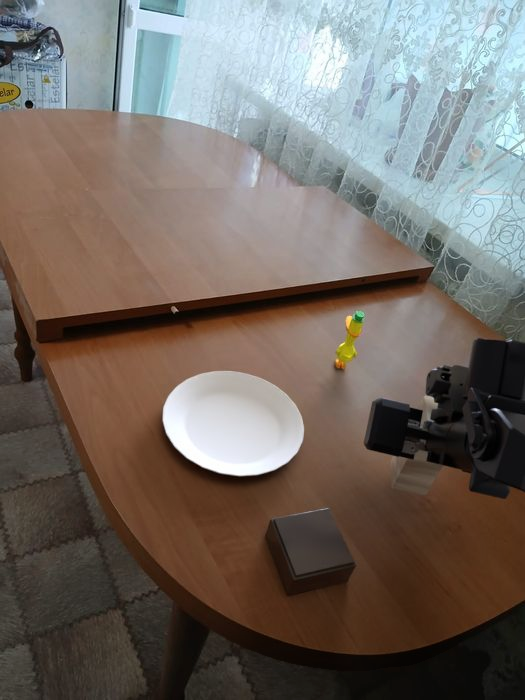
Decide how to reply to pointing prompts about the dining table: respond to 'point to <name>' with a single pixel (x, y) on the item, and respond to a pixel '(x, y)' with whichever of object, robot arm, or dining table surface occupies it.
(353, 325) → the toy figure
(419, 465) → the block
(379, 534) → the dining table surface
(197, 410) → the plate
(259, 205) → the dining table surface
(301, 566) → the stand
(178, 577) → the dining table surface
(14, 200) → the dining table surface
